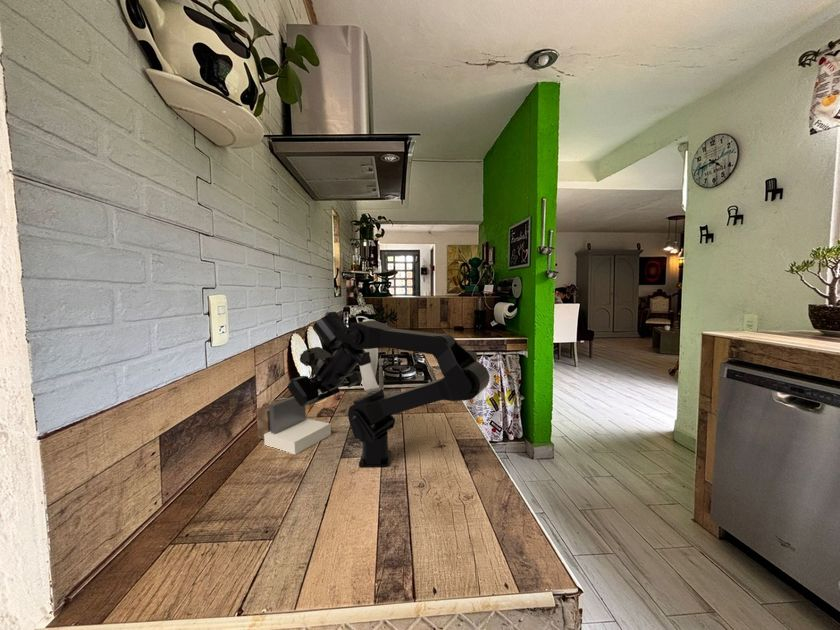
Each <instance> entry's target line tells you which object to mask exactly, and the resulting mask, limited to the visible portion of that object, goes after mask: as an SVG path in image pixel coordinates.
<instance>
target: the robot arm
mask: <svg viewBox="0 0 840 630" xmlns="http://www.w3.org/2000/svg"><path fill="white" fill-rule="evenodd" d="M374 320H375V319H372V320H370V321H364V322H363V321H359V322H353V323H351V324H350V326H347V325H346V324H345V323H344V322H343V320H342V318H340V316H339V314H338V312H337V311H329V312H328V313H327V315H324V316H323V317H320V319H318V320H317V321H315V323H314V324H313V326H312V330H313V331H314V333H315V334H316V336H318V338H319V339H320V340H321V341H322V343H323V344H324V346H325V347H326V348H328V349H331V348H332V349H335V351H334V352H333V354H331V353H330V352H328V351H327V350H326V349H324V348H322V347H320V346H315V347H310V348H307V349H306V350H303V352H302V353H300V355H299V361H300V363H301V364H302V365H304V366H305V367H310V368H312V369H313V370H312V374H313V375H314V376H315V377H314V376H313V377H310V378H309V376H307V375H301V376H298V377H294V378H291V380H289V382H288V383H287V385H286V388H287V389H288V391H289V392H290V393H291V395H292V397H293V396H294V398H295V399H296V401H297V402H298V404H299V405H300V406H303V407H304V406H305V407H306V406H308V405H309V406H311V405H314V404H316V403H318V402H320V401H323V400H325V399H327V398H330V397H332V396H335V395H336V394H337V395H338V394H339V393H340V392H341V390H340V388H341V387H343V386H344V385H345V383H346V381H347V382H348V383H347V384H346V386H347V388H349V389H350V388H352V387H354V386H356V385H357V384H358V383H359V382H360V376H359V374H358V373H357V372H356V370H355V368H356V366H357V365H359V367H360V366H363V365H366V364H369V363H371V358H370V353H369V352H366V351H365V350H364V349H373V348H378V349H380V348H387V349H392V350H393V349H394V350H400V351H401V350H402V351H407V352H414V353H415V352H416V353H423V354H427V355H432V356H433V357H434V359H436V362H437V363H438V367H439V369H440V371H441V374H442V375H443V377H441V378H440V379H437V380H433V381H429V382H428V383H425V384H424V383H423V384H421V385H418V386H415V387H412V388H409V389H406V390H402V391H400V392H397V393H393V394H391V395H388V394H387V395H385V393H384V389H382V390H378V391H375V392H374V393H373V392H369V393H368V394H366V395H364V396H362V397H360V398H357V399H356V400H353V401H352V403H353V404H352V405H350V406H349V408H348V412H347V413H348V414H347V416H348V417H347V418H348V421H349V422H348V423H349V426H350V428H351V432H352V434H353V435H352V436H353V437H354V440H355V439H356V440H359V442H360V443H361V448H362V449H361V452H362V453H361V455H360V459H359V461H358V467H360V468H372V467H373V468H375V467H376V468H378V467H383V468H385V467H389V466H390V461H391V455H392V450H389V440H388V439H389V437H388V436H389V433H388V432H389V430H391V429H393V428H395V424H396V419H395V417H394V416H393V415H397V414H400V413H402V412H406V411H409V410H413V409H417V408H419V407H423V406H427V405H430V404H432V403H436V402H440V401H447V402H448V401H449V402H458V401H459V402H462V401H463V402H464V401H469V400H472V399H474V398H476V397H477V396H478V395H479V394H480V393H482V392H483V390H484V389H486V387H488V385H489V383H490V378H491V377H490V373H489V371H488V369H487V367H486V366H484V364H482V363H481V362H478V361H476V360H475V358H474V357H473V356H472V355H471V354H470V353H469V352H468V351H469V350H466V348H464V347H463V346H462V345H460V344H459V342H458V341H457V340H456V338H454V337H453V335H451V334H450V333H434V332H427V331H421V330H420V331H419V330H410V329H401V328H395V327H392V326H389V325H387V324H386V323H383V322H380V321H377V320H375V321H374ZM316 376H317V377H316Z"/></svg>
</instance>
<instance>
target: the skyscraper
mask: <svg viewBox="0 0 840 630" xmlns="http://www.w3.org/2000/svg"><path fill="white" fill-rule="evenodd" d="M359 318H360V319H361V318H363V320H362V322H364V321H370V320H374V321H376V320H375V319H371V318H370V319H369V318H368V317H366V316H361V315H357V316H356V317H355V319H356V323H358V322H360V321H359ZM364 350H365V351H366V352H369V353H370V358H371V363H369V364H366V365H363V366H360V365H359V370H360V375H361V382H360V385H361V384H362V385H363V388H364V390H363V391H364V392H366V393H373V392H378V391H380V390H381V389H383V390H385V389H384V388H385V387H384V374H383V371H384V370H383V367H382V358H381V357H382V356H381V355H380V356H379V351H378V350H379V348H373V349H364ZM378 359H379V360H378ZM378 361H379V362H378ZM378 363H379V367H378ZM377 370H378V382H377V380H376V376H377ZM378 385H379V388H376V387H378ZM383 387H384V388H383Z"/></svg>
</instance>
